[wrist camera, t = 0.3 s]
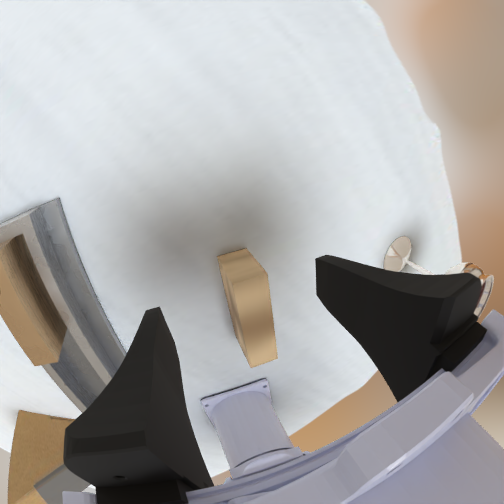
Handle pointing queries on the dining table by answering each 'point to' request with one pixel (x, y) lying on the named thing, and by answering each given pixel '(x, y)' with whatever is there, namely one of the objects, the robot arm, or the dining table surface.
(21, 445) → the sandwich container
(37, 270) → the track
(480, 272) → the wineglass
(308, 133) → the dining table surface
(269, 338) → the tan rectangular block
